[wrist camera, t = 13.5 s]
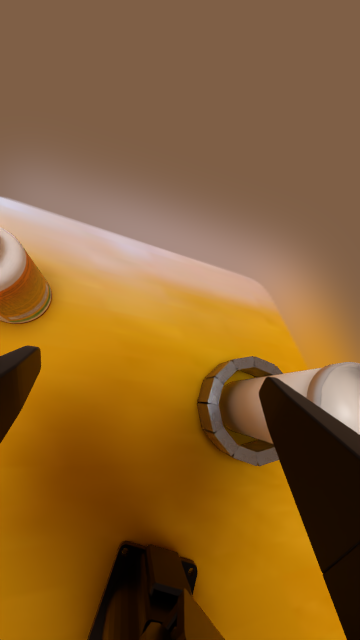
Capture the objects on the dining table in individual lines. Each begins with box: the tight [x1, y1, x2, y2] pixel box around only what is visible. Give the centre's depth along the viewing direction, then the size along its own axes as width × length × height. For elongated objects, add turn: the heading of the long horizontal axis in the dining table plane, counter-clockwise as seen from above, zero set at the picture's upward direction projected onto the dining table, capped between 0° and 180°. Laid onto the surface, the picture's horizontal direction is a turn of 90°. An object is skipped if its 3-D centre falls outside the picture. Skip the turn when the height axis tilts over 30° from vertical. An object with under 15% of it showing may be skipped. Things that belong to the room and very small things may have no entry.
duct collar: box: [197, 356, 283, 466], centre depth 22 cm, size 9×9×3 cm
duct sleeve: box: [219, 362, 360, 444], centre depth 17 cm, size 5×5×13 cm
